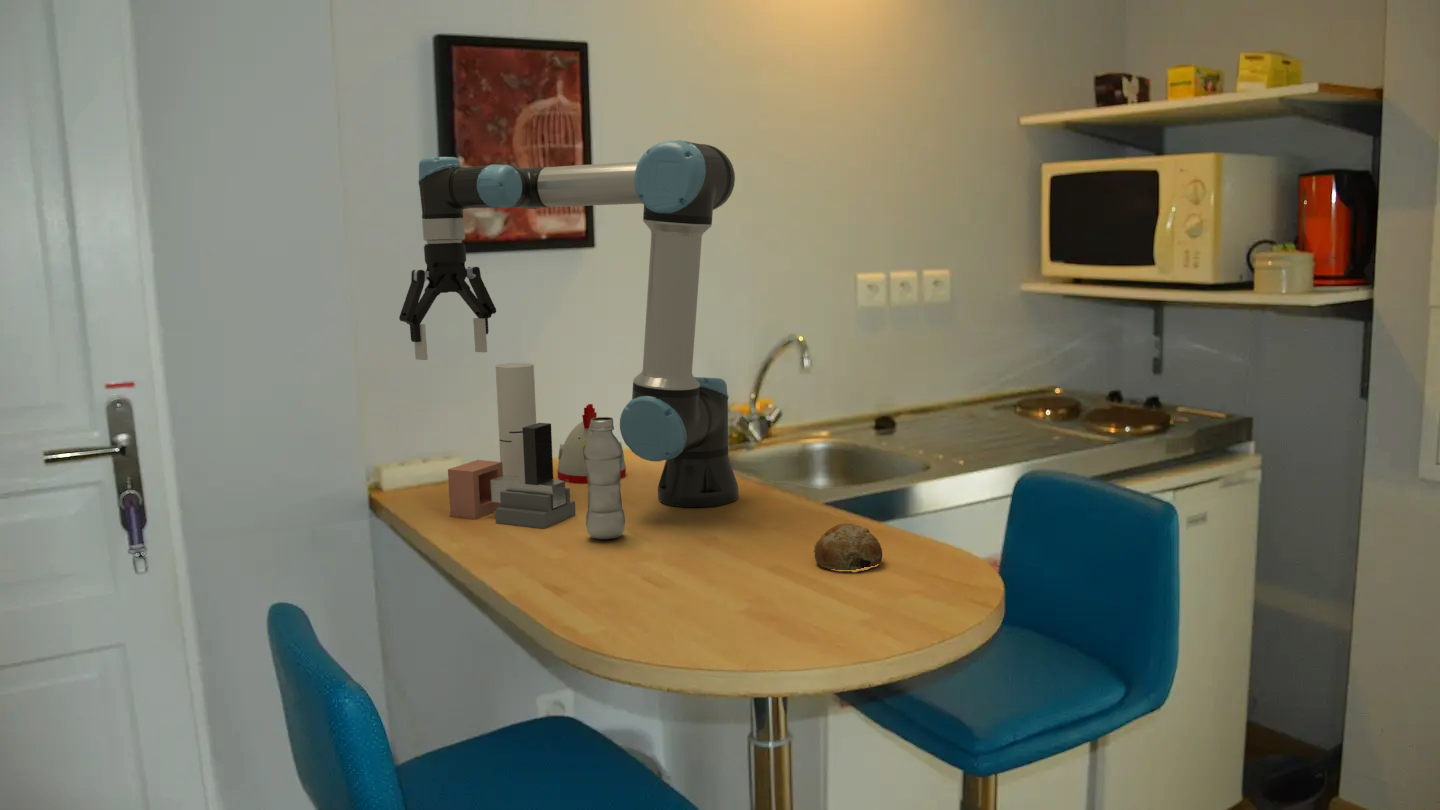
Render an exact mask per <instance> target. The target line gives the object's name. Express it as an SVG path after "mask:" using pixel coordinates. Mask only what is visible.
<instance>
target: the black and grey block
mask: <svg viewBox="0 0 1440 810" xmlns="http://www.w3.org/2000/svg"><path fill="white" fill-rule="evenodd" d="M552 435H553V434H552V423H550V422H549V423H548V422H536V424H533V425H530V426H526V427H523V448H524V470H525V477H518V476H507V475H503V476H500V477H497V478H495V479H492V480H491V498H492V502H498V503H501V500H500V492H501V491H512V492H522V493H531V494H541V495H550V496H551V503H552V509H553V508H556V507H558V506H561V505H563V504H565V503H566V495H565V488H566V482H565V481H561V480H559V479H558V480H557V479H554V466H553V465H554V464H553V462H554V461H553V444H552V443H553V437H552Z"/></svg>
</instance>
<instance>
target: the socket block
mask: <svg viewBox="0 0 1440 810" xmlns="http://www.w3.org/2000/svg"><path fill="white" fill-rule="evenodd" d="M447 476H448V477H447V479H448V497H449V513H450V514H449V516H450V517H455V518H463V519H472V520H477V519H479V518H482V517H484V516H487V515H490V514H492V513H495V509H497V508H499V507H501V503H498V502H492V498H491V480H492V479H495V478H497V477H500V476H503V467H502V462H500V461H496V460H495V461H494V460H485V459H484V460H482V459H476V460H473V461H470V462H467V463H464V464H460V465H456V466H454V467H451V468H448V469H447Z"/></svg>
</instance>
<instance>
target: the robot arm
mask: <svg viewBox="0 0 1440 810" xmlns="http://www.w3.org/2000/svg"><path fill="white" fill-rule="evenodd" d="M734 169H735V168H734V165H733V163H732V161H731V160H730V159H729V157H728V156H727V154H725V152H724V151H722V150H721V149H719V148H717V147H716V146H713V145H709V144H704V143H703V144H702V143H696V142H691V141H687V140H681V139H680V140H679V139H678V140H666V141H662V142H658V143H656V144H655V145H653V146H651V147H649V148H648V149H647V150H646V151H645V152H644V153H643V154H642V156H641V157H640V158H639V160H638V161H629V162H627V161H626V162H612V163H611V162H610V163H598V164H597V163H596V164H579V165H563V166H547V167H546V166H545V167H542V166H541V167H540V166H538V167H525V168H524V167H523V168H522V167H513V166H512V165H508V164H495V163H493V164H489V165H478V166H467V167H464V166H463V167H462V166H461V163H460V160H459V158H458V157H455V156H431V157H424V158H422V159H420V161H419V163H418V187H419V195H420V204H421V211H422V212H421V213H422V215H421V218H422V219H421V222H422V224H421V225H422V233H423V234H422V235H423V240H424V241H425V242H426V243H425V244H424V246H423V251H424V254H423V255H424V262H425V264H426V270H424V269H413V270H411V274H410V275H411V276H410V278H411V279H410V280H411V281H410V285H409V288H408V291H407V293H406V297H405V300H404V302H403V305H402V308H401V311H400V314H399V321H400V322H404V323H406V324H407V325H409V331H410V332H409V333H410V341H411V342H412V343H414V353H415V354H414V355H415V356H414V357H415V360H419V361H426V360H427V361H428V345H427V332H426V324H424V323H423V324H422V322H423V320H424V318H425V317H426V315H427V313H428V312H429V310H430V309H431V307H432V305H433V304H434V302H435V300H436V299H437V297H439V296H440V294H444V293H445V294H446V293H447V294H448V293H457V294H458V295H459V296H460V297H461V299H463V301H464V302H465V304H466V305H467V306H468V308H470V310H471V311H472V312H473V313H474V314H475V316H476V317H473V318H472V319H473V323H472V324H473V333H474V338H473V339H474V348H475V350H474V351H475V353H488V342H487V335H488V334H489V319H490V318H491V317H492V315H494V314H496V313H497V309H496V306H495V304H494V302H493V300H492V298H491V295H490V293H489V291H488V290H487V288H486V286H485V283H484V281H483V279H482V275H481V270H480V267H479V266H467V268H466V264H465V263H466V262H467V251H466V244H465V243H464V242H463V241H464V240H465V239H466V233H465V220H464V210H468V209H489V208H490V209H527V210H537V209H542V208H558V207H560V208H561V207H562V208H563V207H579V206H580V207H585V206H609V205H610V206H611V205H613V206H614V205H616V206H617V205H636V204H637V205H638V204H641V205H642V204H643V214H642V215H643V216H642V218H643V219H642V221H643V223H644V224H645V225H646V226H647V228H648V229H649V230H650V235H651V237H650V249H649V262H648V263H649V265H648V279H647V280H648V282H647V295H646V296H647V298H646V311H645V326H644V327H645V328H644V340H643V341H644V344H643V361H642V369H641V372H639V374H637V375H636V376H635V377H634V378H633V380H632V381H633V382H632V396H631V399H630V401H629V402H628V403H627V404H626V405H625V407H624V408H623V410H622V411H621V414H620V418H619V430H620V434H621V438H622V439H623V442H624V444H625V445H626V446H627V447H628V449H630V451H631V453H633V454H634V455H635V456H637V457H639V458H640V459H642V460H645V461H649V462H662V461H665V463H664V466H663V469H662V473H661V476H660V479H659V482H658V486H657V499H658V501H659V502H661V503H662V504H665V505H669V506H674V507H675V506H676V507H681V508H683V507H685V508H708V507H716V506H722V505H727V504H731V503H733V502H735V501H737V500H738V498H739V484H738V481H737V478H736V476H735V472H734V470H733V467H732V465H731V461H730V457H729V393H728V386H727V383H726V381H725V380H724V379H723V378H718V377H703V376H702V377H701V376H700V377H699V376H698V377H697V376H694V375H693V366H694V365H693V364H694V353H695V352H694V351H695V350H694V348H695V336H696V335H695V334H696V323H697V310H698V309H697V307H698V297H699V295H698V294H699V293H698V292H699V280H700V269H701V268H700V266H701V255H702V253H701V252H702V241H703V240H702V239H703V235H704V233H705V232H707V231H709V229H710V228H711V227H712V224H713V214H714V213H713V211H714V210H717V209H718V208H719V207H722V206H723V205H724V204H725V203H726V202H727V201H728V200H729V199H730V197H731V196H732V194H733V190H734V187H735V181H736V176H735V175H736V173H735V170H734ZM466 278H467V279H468V281H469V284H470V285H469V284H468V283H467V282H466ZM426 281H428V283H427V285H426V287H425V288H424V286H425V282H426ZM470 286H471V287H470ZM471 288H472V290H473V291H472V290H471ZM423 290H424V293H422V292H423ZM421 295H422V296H421Z"/></svg>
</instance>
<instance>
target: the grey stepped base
mask: <svg viewBox="0 0 1440 810" xmlns="http://www.w3.org/2000/svg"><path fill="white" fill-rule="evenodd" d="M570 489H571V488H570V487H569V488H568V487H565V495H566V503H565V504H563V505H561V506H558V507H556V508H553V509H552V503H551V496H550V495H541V494H531V493H522V492H512V491H501V492H500V500H501V507H499V508H497V509H495V512H494V513H495V524H500V525H501V524H502V525H510V526H511V525H512V526H518V527H519V526H520V527H526V528H536V529H546V528H548V527H551V526H553V525H555V524H558V523H560V522H562V521H564V520H566V519H569V518H571V517H573V516H576V501H575V500H571V490H570Z"/></svg>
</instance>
